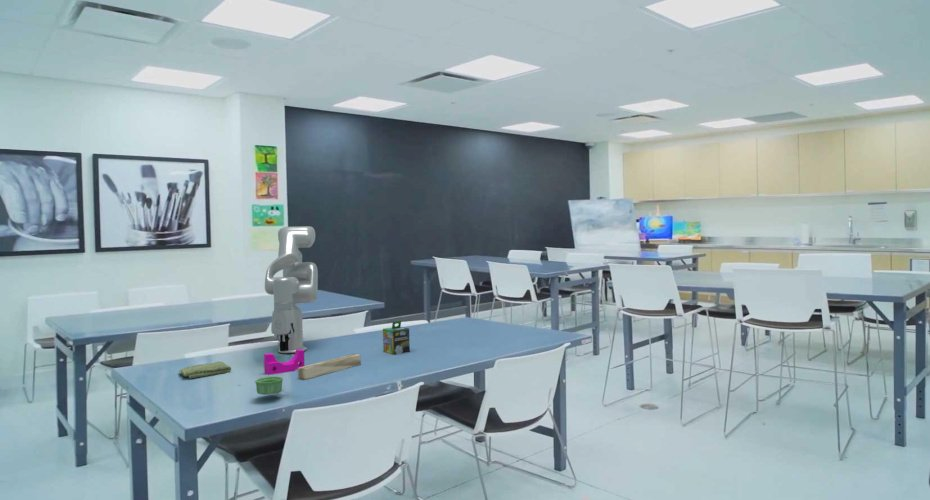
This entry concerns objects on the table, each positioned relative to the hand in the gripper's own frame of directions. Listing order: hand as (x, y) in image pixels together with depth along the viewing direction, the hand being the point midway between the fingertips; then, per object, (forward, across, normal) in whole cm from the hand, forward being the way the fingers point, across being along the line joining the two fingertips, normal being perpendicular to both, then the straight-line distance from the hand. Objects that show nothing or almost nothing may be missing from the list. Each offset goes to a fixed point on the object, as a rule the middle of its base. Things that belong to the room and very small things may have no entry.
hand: (284, 350), depth 239 cm
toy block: (+7, +8, -7) cm, 13 cm away
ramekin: (+8, +30, -32) cm, 45 cm away
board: (+7, +26, +1) cm, 27 cm away
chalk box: (+6, +26, +42) cm, 50 cm away
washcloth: (+7, -19, -24) cm, 31 cm away
